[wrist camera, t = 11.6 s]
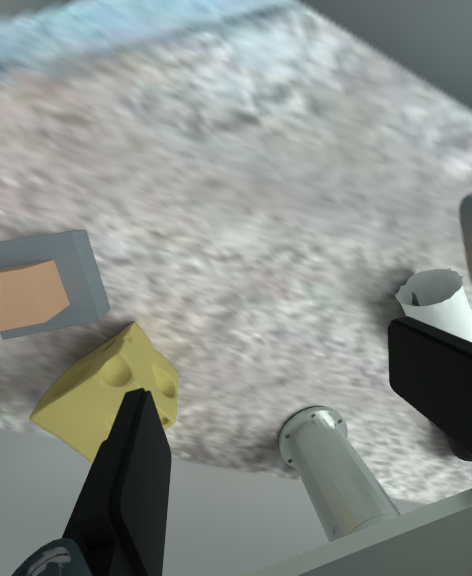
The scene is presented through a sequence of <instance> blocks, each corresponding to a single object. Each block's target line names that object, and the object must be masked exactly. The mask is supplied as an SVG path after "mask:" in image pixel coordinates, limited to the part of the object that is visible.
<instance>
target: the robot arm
mask: <svg viewBox="0 0 472 576" xmlns="http://www.w3.org/2000/svg"><path fill="white" fill-rule="evenodd" d="M388 350H389V382H390V386H391V388H392V389H393V391H394V392H396V393H397V394H398V395H399V396H400V397H402V398H403V399H404V400H405V401H407V402H408V403H409V404H410V405H412V406H413V407H414V408H415V409H416V410H418V411H419V412H420V413H421V414H423V415H424V416H425V417H426V418H428V419H429V420H430V421H431V422H433V423H434V424H435V425H436V426H437V427H439V428H440V429H441V430H442V431H444V432H445V433H446V434H447V435H449V436H450V437H451V438H452V439H453V440H455V441H456V442H457V443H458V444H460V445H461V446H462V447H463V448H465V449H466V450H467V451H468V452H470V453H471V454H472V342H470V341H468V340H465V339H463V338H460V337H458V336H455V335H453V334H451V333H448V332H446V331H443V330H441V329H438V328H436V327H434V326H431V325H429V324H426V323H424V322H421V321H419V320H417V319H414V318H412V317H409V316H406V317H402V318H398V319H394V320H392V321H391V323H390V325H389V326H388ZM347 433H348V430H347V425H346V422H345V420H344V419H343V418H342V416H341V415H340V414H339V413H338V412H337V411H335V410H334V409H331V408H328V407H313V408H309V409H306V410H304V411H301V412H300V413H298V414H296V415H295V416H294V417H292V418H291V419H290V420H289V421H288V422H287V424H286V425H285V426H284V428H283V429H282V431H281V434H280V436H279V441H278V447H279V451H280V454H281V456H282V458H283V460H284V461H285V463H287V464H288V465H289V466H291V467H293V468H296V469H297V470H298V472H299V475H300V477H301V479H302V481H303V484H304V486H305V488H306V490H307V492H308V495H309V497H310V500H311V502H312V504H313V506H314V509H315V511H316V513H317V515H318V518H319V520H320V522H321V524H322V527H323V529H324V531H325V534H326V536H327V538H328V540H329V543H327V544H324V545H321V546H319V547H316V548H314V549H311V550H308V551H306V552H303V553H301V554H298V555H295V556H293V557H290V558H288V559H285V560H282V561H280V562H277V563H275V564H272V565H270V566H267V567H264V568H262V569H259V570H256V571H254V572H251V573H249V574H246V575H244V576H472V489H469V490H467V491H464V492H461V493H459V494H456V495H453V496H451V497H448V498H445V499H443V500H440V501H437V502H435V503H432V504H429V505H427V506H424V507H421V508H419V509H416V510H413V511H411V512H408V513H405V514H402V513H401V512H400V511H399V509H398V508H397V506H396V505H395V504H394V502H393V501H392V499H391V498H390V497H389V495H388V494H387V493H386V491H385V490H384V488H383V487H382V486H381V484H380V483H379V482H378V480H377V479H376V478H375V476H374V475H373V473H372V472H371V471H370V469H369V468H368V467H367V465H366V464H365V463H364V461H363V460H362V458H361V457H360V456H359V454H358V453H357V452H356V450H355V449H354V448H353V446H352V445H351V443H350V442H349V441H348V439H347ZM170 470H171V451H170V447H169V444H168V441H167V438H166V435H165V432H164V429H163V426H162V423H161V420H160V417H159V414H158V411H157V408H156V405H155V402H154V399H153V396H152V393H151V391H150V390H148V391H145V389H144V388H139V389H136V390H132V391H128V392H126V393H125V395H124V397H123V400H122V402H121V405H120V407H119V410H118V413H117V415H116V418H115V420H114V423H113V425H112V428H111V430H110V433H109V435H108V438H107V440H104V441H103V442H102V443H101V445H100V447H99V449H98V452H97V454H96V456H95V459H94V461H93V464H92V466H91V468H90V471H89V473H88V476H87V478H86V481H85V483H84V485H83V488H82V491H81V493H80V495H79V498H78V500H77V502H76V505H75V507H74V510H73V512H72V514H71V517H70V519H69V522H68V524H67V526H66V529H65V532H64V534H63V536H62V538H61V539H57V540H53V541H52V542H50V543H48V544H46V545H44V546H42V547H41V548H39V549H38V550H37V551H36V552H34V553H33V554H32V555H30V557H28V558H27V559H26V560H25V561H24V562H23V563H22V564H21V565H20V566H19V567H18V568H17V569H16V570H15V572H14V573H13V574H12V576H162V568H163V557H164V545H165V533H166V532H165V531H166V520H167V508H168V496H169V484H170Z"/></svg>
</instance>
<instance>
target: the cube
mask: <svg viewBox="0 0 472 576" xmlns="http://www.w3.org/2000/svg"><path fill="white" fill-rule="evenodd" d="M69 305H70V303H69V301H68V298H67V295H66V292H65V289H64V287H63V284H62V281H61V278H60V276H59V273H58V270H57V267H56V264H55V262H54V260H50V261H44V262H38V263H32V264H26V265H20V266H13V267H7V268H1V269H0V331H4V330H9V329H14V328H19V327H24V326H29V325H34V324H40V323H45V322H47V321H48V320H49V319H51V318H52V317H54V316H55V315H56V314H58V313H59V312H60V311H62V310H63V309H65V308H66V307H67V306H69Z"/></svg>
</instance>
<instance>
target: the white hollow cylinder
mask: <svg viewBox="0 0 472 576" xmlns="http://www.w3.org/2000/svg"><path fill="white" fill-rule="evenodd" d="M462 279H463V276H459V274H458V273H457V272H456V271H451V268H450V269H434V270H428V271H424V272H420V273H417V274H415V275H413V276H411V277H409V279H408V281H407V283H406V284H405V285H404V286H402V285H401V288H400V290H399V292H398V294H397V293H396V295H395V297H396V299H397V300H398V301H399V302H400V304H401V305H402V308H403V310H404V312H405V314H406V316H409V317H412V318H414V319H417V320H419V321H421V322H424V323H426V324H429V325H431V326H434V327H436V328H438V329H441V330H443V331H446V332H448V333H451V334H453V335H455V336H458V337H460V338H463V339H465V340H468V341H470V342H472V310H471V308H470V306H469V304H468V301H467V298H466V296H465V294H464V290H463V287H462V285H463V281H462ZM411 293H414V294H415V295H416V296H417V299H418V303H419V306H413V305H412V294H411Z"/></svg>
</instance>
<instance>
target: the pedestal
mask: <svg viewBox="0 0 472 576" xmlns="http://www.w3.org/2000/svg"><path fill="white" fill-rule="evenodd" d="M50 260H54V262H55V264H56V267H57V270H58V273H59V276H60V278H61V281H62V284H63V287H64V289H65V292H66V295H67V298H68V301H69V303H70V305H69V306H67V307H66V308H65V309H63V310H62V311H60V312H59V313H58V314H56V315H55V316H54V317H52V318H51V319H49V320H48V321H47V322H45V323H40V324H34V325H29V326H24V327H19V328H14V329H9V330H4V331H0V334H1V336H2V338H3V340H4V339H9V338H14V337H19V336H24V335H29V334H34V333H39V332H44V331H49V330H54V329H60V328H65V327H70V326H75V325H80V324H85V323H90V322H95V321H100V320H101V319H102V318H103V317H104V315H105V314H106V313H107V312H108V311H109V310H110V306H109V303H108V299H107V296H106V293H105V290H104V287H103V283H102V280H101V277H100V274H99V270H98V267H97V264H96V261H95V258H94V254H93V251H92V248H91V245H90V241H89V238H88V235H87V232H86V230H80V231H70V232H63V233H57V234H50V235H43V236H36V237H30V238H23V239H16V240H9V241H3V242H0V269H1V268H7V267H13V266H20V265H26V264H32V263H38V262H44V261H50Z"/></svg>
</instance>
